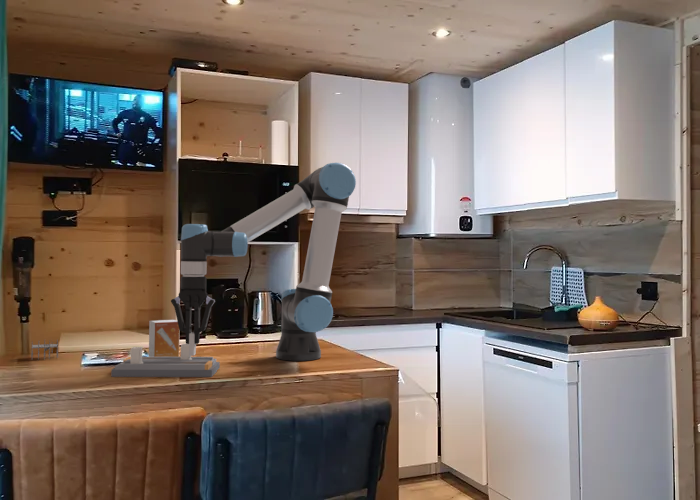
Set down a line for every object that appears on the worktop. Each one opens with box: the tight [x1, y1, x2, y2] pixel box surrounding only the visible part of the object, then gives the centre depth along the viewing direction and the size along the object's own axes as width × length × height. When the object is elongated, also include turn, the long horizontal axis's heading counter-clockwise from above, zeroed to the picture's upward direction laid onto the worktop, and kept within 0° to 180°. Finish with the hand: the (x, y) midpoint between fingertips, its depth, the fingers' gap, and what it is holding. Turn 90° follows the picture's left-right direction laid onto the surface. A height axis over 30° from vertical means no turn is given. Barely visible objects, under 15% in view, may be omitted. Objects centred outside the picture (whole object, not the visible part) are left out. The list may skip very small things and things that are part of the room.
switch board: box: [110, 356, 221, 378], centre depth 182 cm, size 28×13×4 cm, turn 92°
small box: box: [148, 319, 180, 357], centre depth 200 cm, size 8×6×13 cm
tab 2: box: [180, 343, 192, 360], centre depth 185 cm, size 3×3×5 cm
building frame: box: [30, 339, 59, 361], centre depth 203 cm, size 6×8×6 cm
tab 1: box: [130, 346, 143, 364], centre depth 178 cm, size 3×3×5 cm
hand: (192, 354), depth 185 cm, fingers closed
